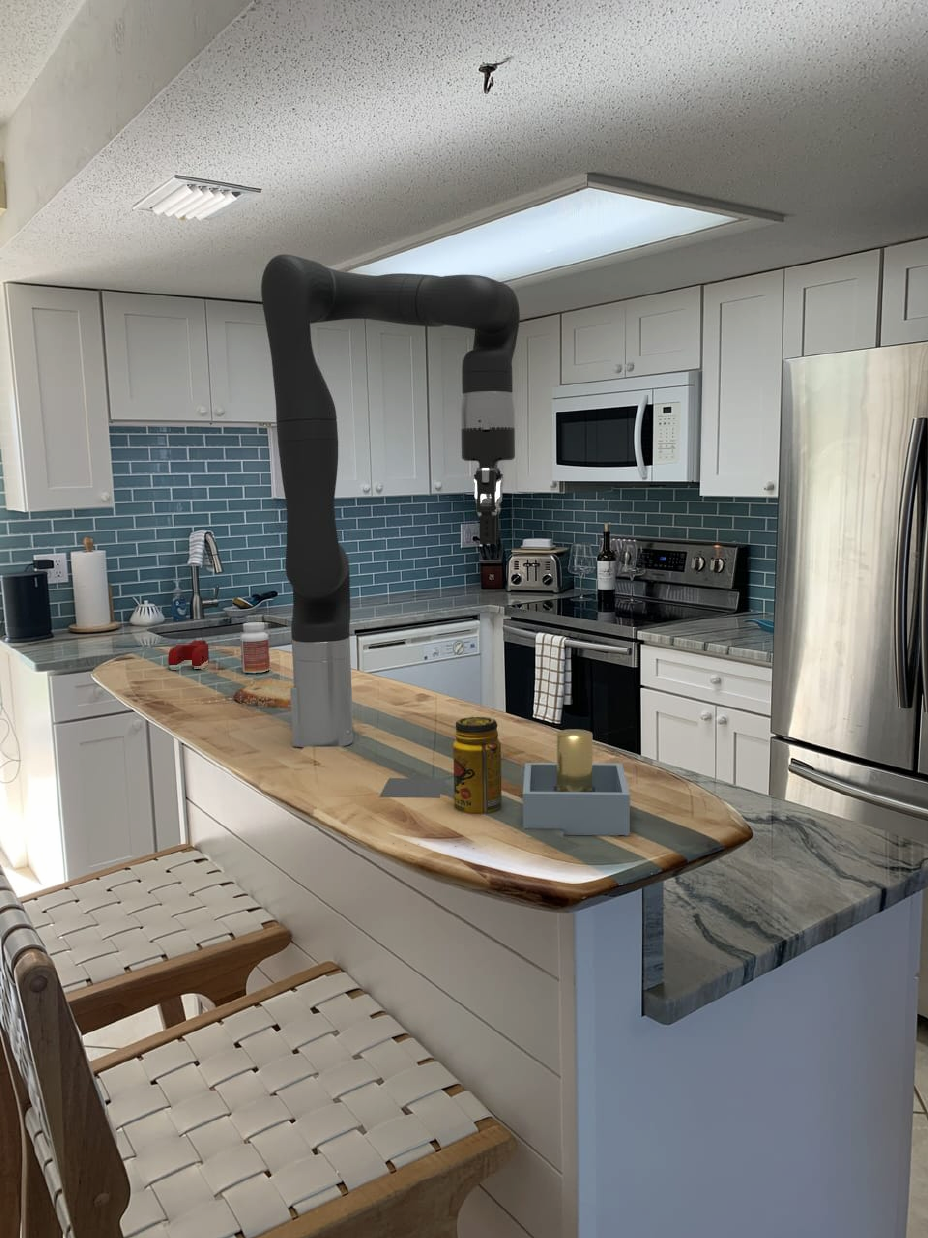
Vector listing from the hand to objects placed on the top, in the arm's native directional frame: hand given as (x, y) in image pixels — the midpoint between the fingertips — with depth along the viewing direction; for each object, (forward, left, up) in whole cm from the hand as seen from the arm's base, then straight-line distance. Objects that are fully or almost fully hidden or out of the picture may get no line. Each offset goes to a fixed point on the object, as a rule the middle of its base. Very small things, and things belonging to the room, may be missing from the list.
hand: (489, 541), depth 139 cm
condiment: (0, -19, -33) cm, 39 cm away
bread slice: (-43, +43, -34) cm, 70 cm away
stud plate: (-10, -13, -33) cm, 37 cm away
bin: (+12, -21, -33) cm, 41 cm away
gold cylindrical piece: (+12, -21, -32) cm, 41 cm away
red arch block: (-75, +79, -34) cm, 114 cm away
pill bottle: (-57, +70, -33) cm, 96 cm away
